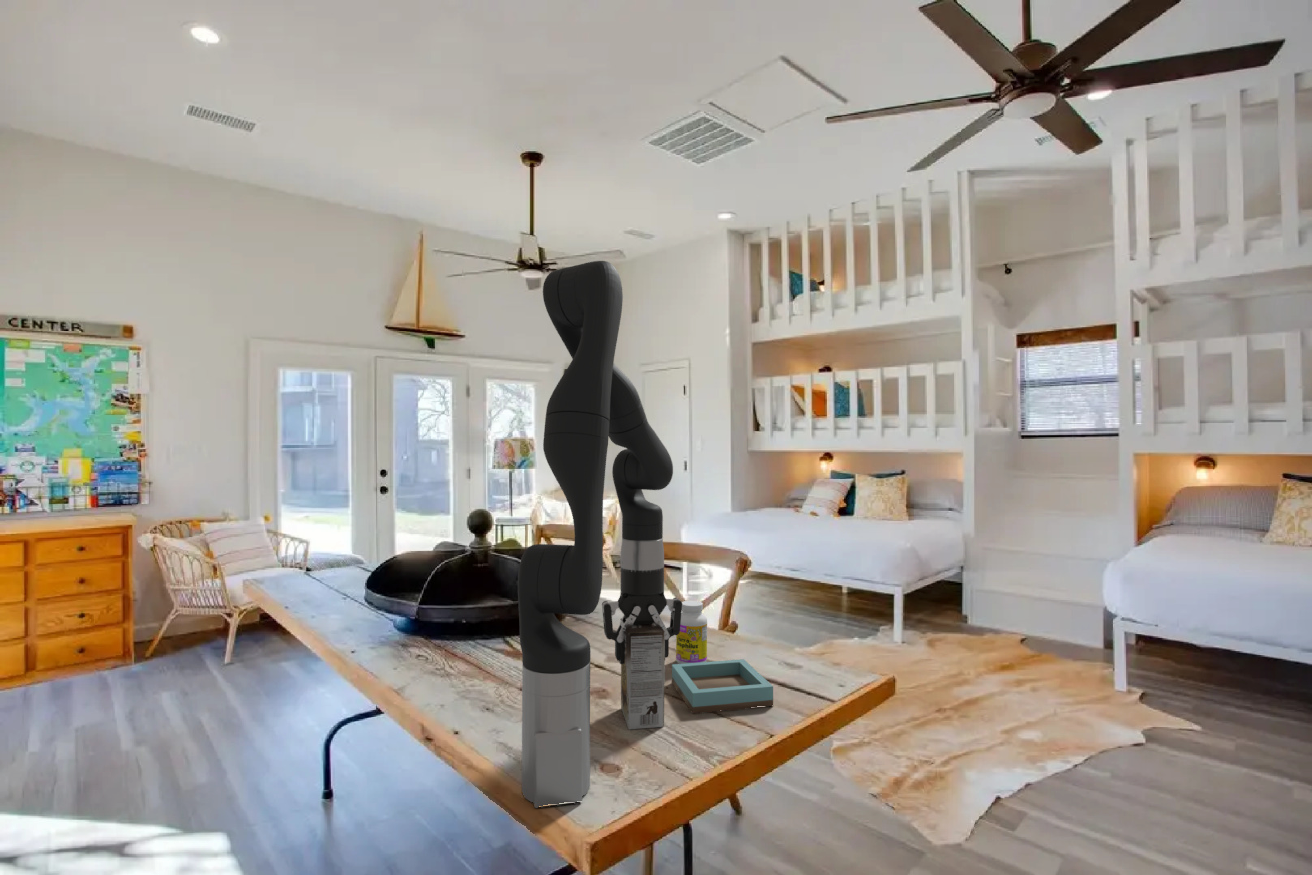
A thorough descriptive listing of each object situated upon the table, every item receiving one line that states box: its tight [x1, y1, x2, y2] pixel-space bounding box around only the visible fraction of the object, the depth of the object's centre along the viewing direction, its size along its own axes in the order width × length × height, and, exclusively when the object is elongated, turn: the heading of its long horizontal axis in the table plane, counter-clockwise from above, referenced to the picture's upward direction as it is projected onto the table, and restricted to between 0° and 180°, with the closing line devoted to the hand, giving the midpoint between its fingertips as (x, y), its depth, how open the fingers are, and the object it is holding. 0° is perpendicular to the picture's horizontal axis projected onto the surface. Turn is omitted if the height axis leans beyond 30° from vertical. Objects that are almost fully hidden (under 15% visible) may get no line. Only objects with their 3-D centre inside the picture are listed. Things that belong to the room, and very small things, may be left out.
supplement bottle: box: [675, 600, 708, 664], centre depth 140 cm, size 7×7×13 cm
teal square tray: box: [671, 658, 774, 715], centre depth 122 cm, size 15×15×4 cm
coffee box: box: [620, 617, 666, 730], centre depth 112 cm, size 9×6×16 cm
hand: (642, 660), depth 112 cm, fingers closed on coffee box, 6 cm apart
